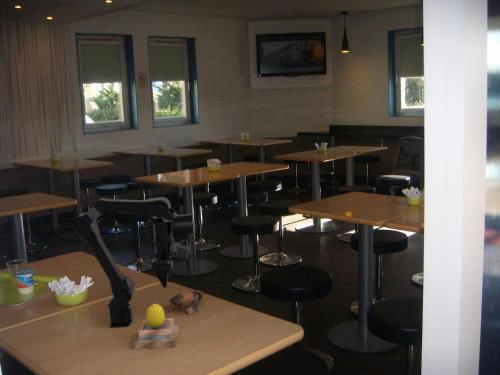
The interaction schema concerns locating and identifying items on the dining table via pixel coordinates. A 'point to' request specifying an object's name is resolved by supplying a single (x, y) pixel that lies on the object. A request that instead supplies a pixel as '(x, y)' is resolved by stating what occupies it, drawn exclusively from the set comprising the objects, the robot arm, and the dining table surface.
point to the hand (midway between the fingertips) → (166, 282)
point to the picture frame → (157, 335)
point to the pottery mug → (188, 300)
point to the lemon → (155, 316)
